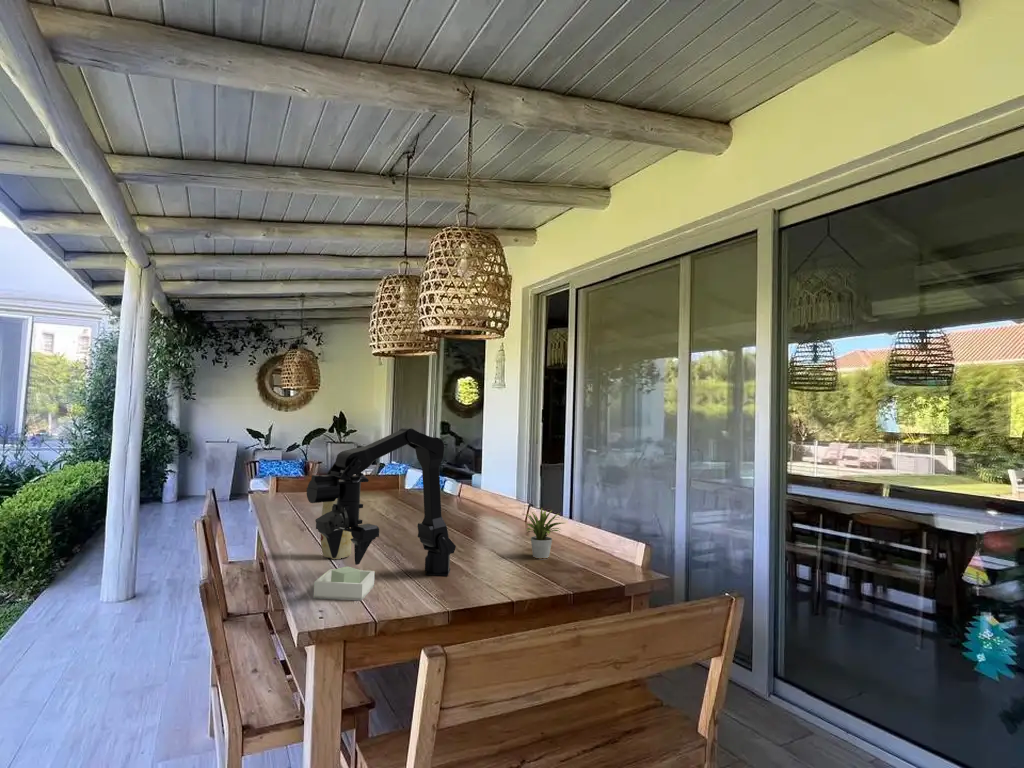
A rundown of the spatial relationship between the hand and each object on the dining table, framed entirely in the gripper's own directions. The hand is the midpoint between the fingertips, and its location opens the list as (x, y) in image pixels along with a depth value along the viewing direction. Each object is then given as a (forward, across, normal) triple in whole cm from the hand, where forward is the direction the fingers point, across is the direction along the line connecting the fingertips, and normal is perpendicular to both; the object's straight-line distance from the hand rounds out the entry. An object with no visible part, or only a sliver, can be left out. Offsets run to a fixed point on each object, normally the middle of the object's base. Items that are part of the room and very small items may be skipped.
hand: (345, 561), depth 154 cm
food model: (+8, -30, +20) cm, 36 cm away
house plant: (+8, +17, +65) cm, 67 cm away
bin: (+8, 0, 0) cm, 8 cm away
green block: (+7, 0, 0) cm, 7 cm away
